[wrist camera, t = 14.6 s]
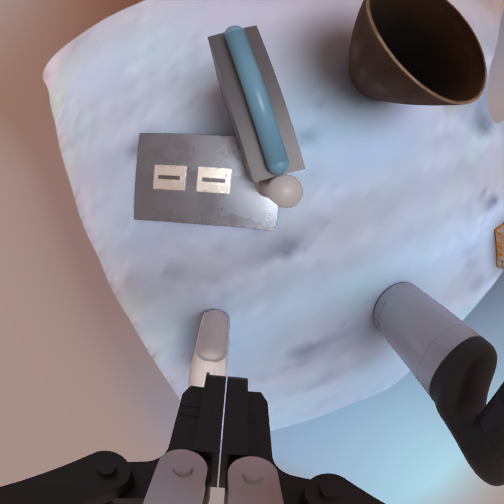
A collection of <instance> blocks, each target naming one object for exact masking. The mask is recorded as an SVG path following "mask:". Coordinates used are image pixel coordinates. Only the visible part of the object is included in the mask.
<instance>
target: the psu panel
mask: <svg viewBox="0 0 504 504" xmlns="http://www.w3.org/2000/svg"><path fill="white" fill-rule="evenodd" d="M258 183H259V181H258V182H255V183H254V182H252V181H250V180H249V177H248V174H247V171H246V167H245V164H244V161H243V158H242V154H241V151H240V148H239V145H238V141H237V138H236V137H233V136H220V135H203V134H175V133H140V136H139V146H138V156H137V168H136V183H135V203H134V219H138V220H153V221H167V222H180V223H193V224H206V225H218V226H230V227H241V228H252V229H263V230H273V231H275V228H276V219H277V211H278V206H277V205H276V204H275V203H274V202H272V201H271V200H270V199H269V198H268V197H266V196H265V195H264V194H263V193H262V192H261V191H260V190H259V187H258Z"/></svg>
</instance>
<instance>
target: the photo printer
mask: <svg viewBox="0 0 504 504" xmlns="http://www.w3.org/2000/svg"><path fill="white" fill-rule="evenodd" d="M229 329H230V321H229V316H227V315H226V314H225V313H224V312H222V311H220V310H210V311H208V312H204V314H203V316H202V319H201V323H200V327H199V332H198V336H197V340H196V344H195V348H194V352H193V356H192V360H191V366H190V375H189V386H188V388H189V387H190V386H198V387H204V384H205V379H206V374H210V375H219V376H226V373H227V364H228V347H229Z"/></svg>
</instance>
